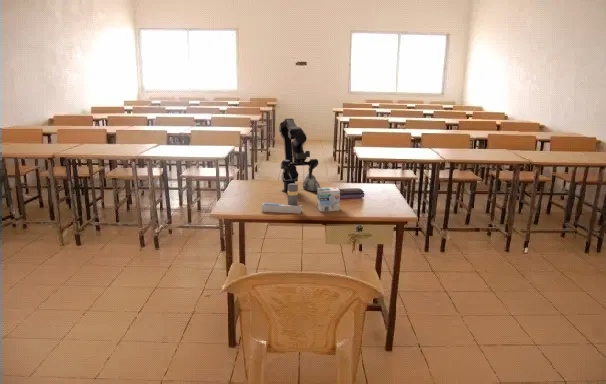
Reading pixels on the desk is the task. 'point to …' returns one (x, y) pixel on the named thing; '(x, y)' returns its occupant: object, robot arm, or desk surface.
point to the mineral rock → (311, 183)
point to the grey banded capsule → (293, 194)
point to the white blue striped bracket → (281, 208)
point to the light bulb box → (328, 199)
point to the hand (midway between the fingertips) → (301, 179)
